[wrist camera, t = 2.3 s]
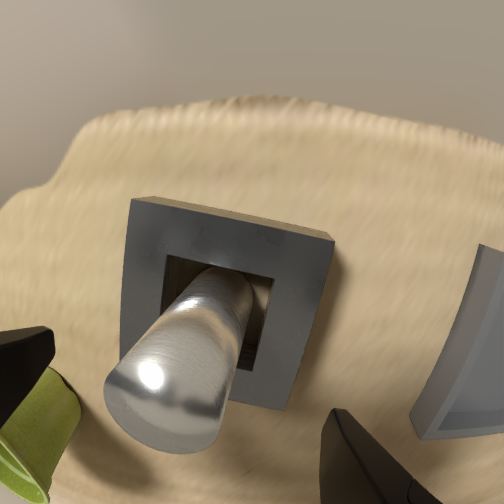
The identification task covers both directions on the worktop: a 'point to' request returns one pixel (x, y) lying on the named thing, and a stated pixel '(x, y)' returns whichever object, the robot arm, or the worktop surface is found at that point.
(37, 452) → the plant pot
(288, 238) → the pin holder
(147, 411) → the pin
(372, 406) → the worktop surface
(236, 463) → the worktop surface
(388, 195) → the worktop surface
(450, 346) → the parts tray
